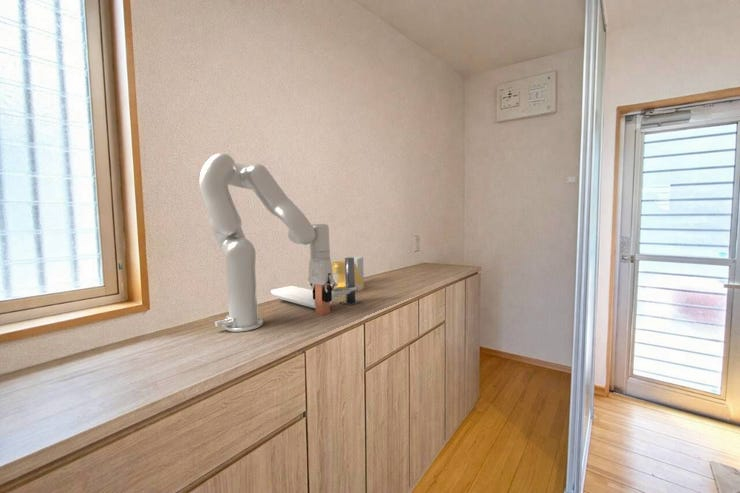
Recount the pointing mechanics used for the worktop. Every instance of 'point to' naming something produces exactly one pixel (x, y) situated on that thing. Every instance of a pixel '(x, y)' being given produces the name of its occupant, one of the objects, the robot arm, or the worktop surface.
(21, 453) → the worktop surface
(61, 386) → the worktop surface
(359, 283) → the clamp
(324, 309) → the orange-brown rectangular block
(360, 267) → the skincare box
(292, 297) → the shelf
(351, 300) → the rosette post
